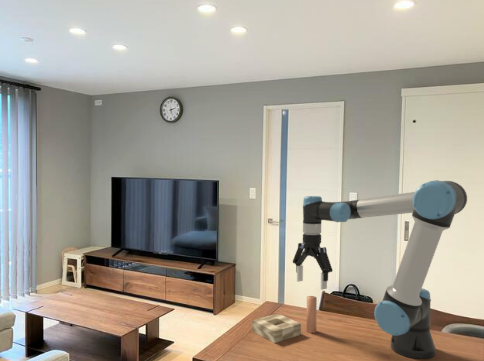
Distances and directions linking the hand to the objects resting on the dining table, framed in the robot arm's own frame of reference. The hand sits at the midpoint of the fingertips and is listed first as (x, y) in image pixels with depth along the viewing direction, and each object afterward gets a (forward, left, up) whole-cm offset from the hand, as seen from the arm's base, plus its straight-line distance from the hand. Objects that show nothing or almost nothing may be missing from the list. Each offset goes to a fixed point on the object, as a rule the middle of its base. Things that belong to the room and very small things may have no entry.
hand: (311, 284), depth 157 cm
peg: (0, 0, -19) cm, 19 cm away
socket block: (+7, +13, -19) cm, 24 cm away
